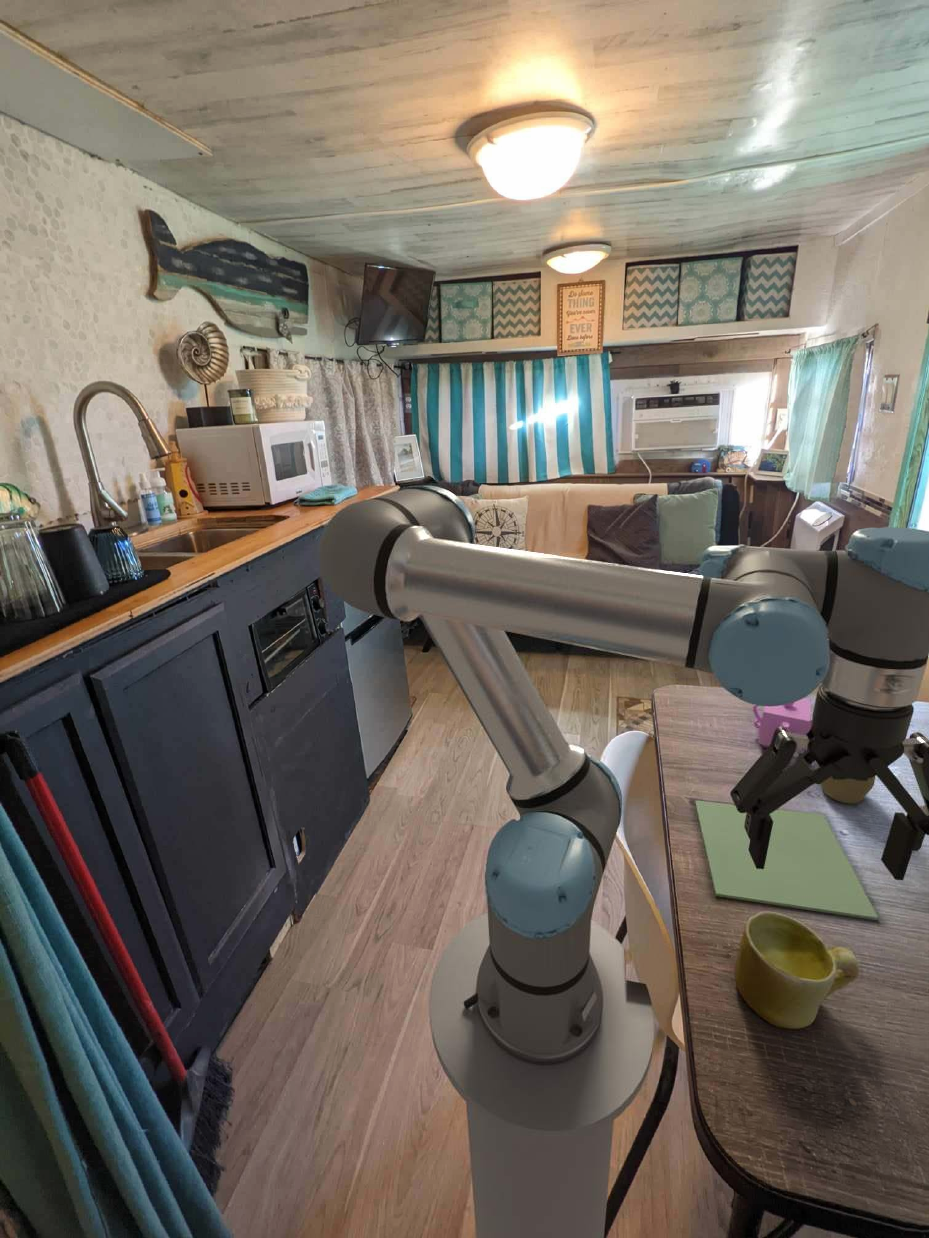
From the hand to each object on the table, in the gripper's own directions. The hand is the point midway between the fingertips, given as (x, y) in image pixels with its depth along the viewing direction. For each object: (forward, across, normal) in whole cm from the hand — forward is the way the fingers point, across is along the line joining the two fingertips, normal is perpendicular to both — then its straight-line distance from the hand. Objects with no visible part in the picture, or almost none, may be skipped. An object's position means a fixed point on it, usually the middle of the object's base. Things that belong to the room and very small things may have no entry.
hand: (822, 864), depth 59 cm
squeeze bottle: (+18, +21, +36) cm, 45 cm away
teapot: (+18, +17, +51) cm, 57 cm away
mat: (+18, +5, +20) cm, 27 cm away
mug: (+18, -1, -2) cm, 18 cm away
